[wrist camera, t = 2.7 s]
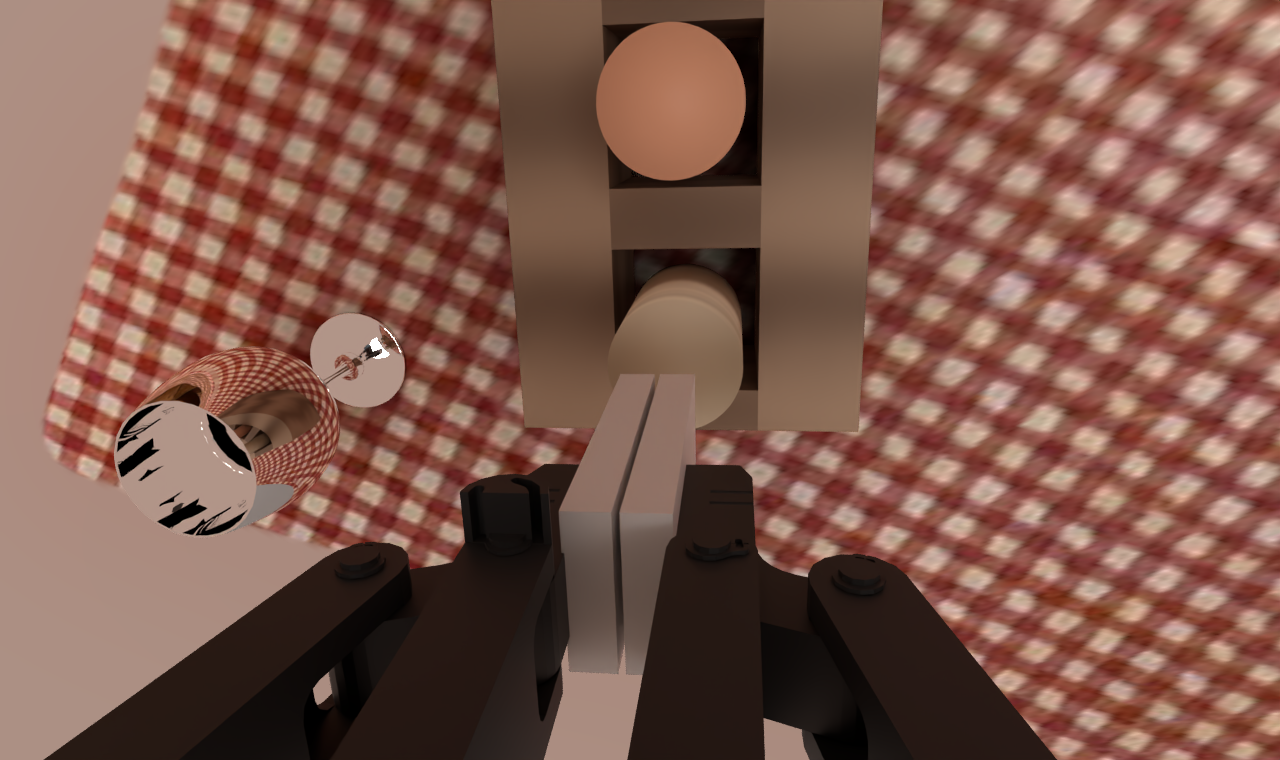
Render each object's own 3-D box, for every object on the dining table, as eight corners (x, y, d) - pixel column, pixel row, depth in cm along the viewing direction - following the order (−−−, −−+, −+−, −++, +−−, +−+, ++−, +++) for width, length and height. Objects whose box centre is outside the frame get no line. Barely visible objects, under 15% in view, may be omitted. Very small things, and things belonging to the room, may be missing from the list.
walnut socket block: (521, -212, 28) (467, -294, 23) (867, -240, 27) (902, -336, 21) (558, 377, 35) (524, 427, 30) (837, 379, 34) (858, 431, 28)
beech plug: (631, 264, 28) (604, 301, 22) (742, 263, 27) (744, 300, 22) (634, 369, 29) (610, 430, 23) (741, 369, 28) (742, 432, 23)
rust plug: (624, 46, 26) (592, 24, 20) (744, 41, 25) (746, 18, 19) (628, 169, 27) (599, 182, 21) (742, 166, 26) (745, 178, 21)
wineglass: (303, 283, 35) (97, 361, 24) (428, 316, 35) (281, 410, 24) (291, 402, 37) (95, 527, 26) (410, 434, 37) (266, 574, 26)
